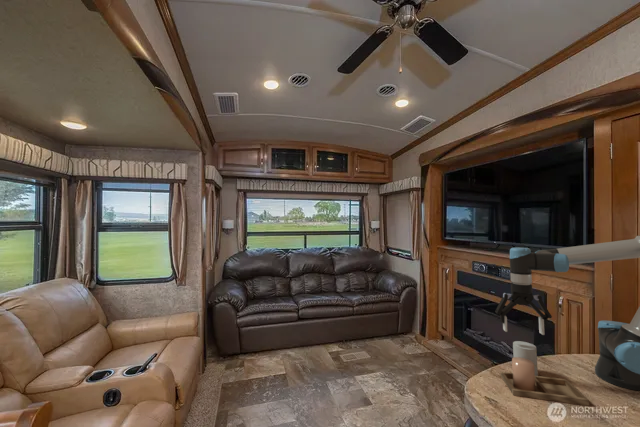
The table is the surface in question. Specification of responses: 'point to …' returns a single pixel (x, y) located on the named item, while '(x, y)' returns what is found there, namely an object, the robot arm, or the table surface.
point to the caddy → (548, 390)
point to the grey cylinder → (526, 352)
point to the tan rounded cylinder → (523, 374)
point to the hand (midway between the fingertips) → (523, 332)
